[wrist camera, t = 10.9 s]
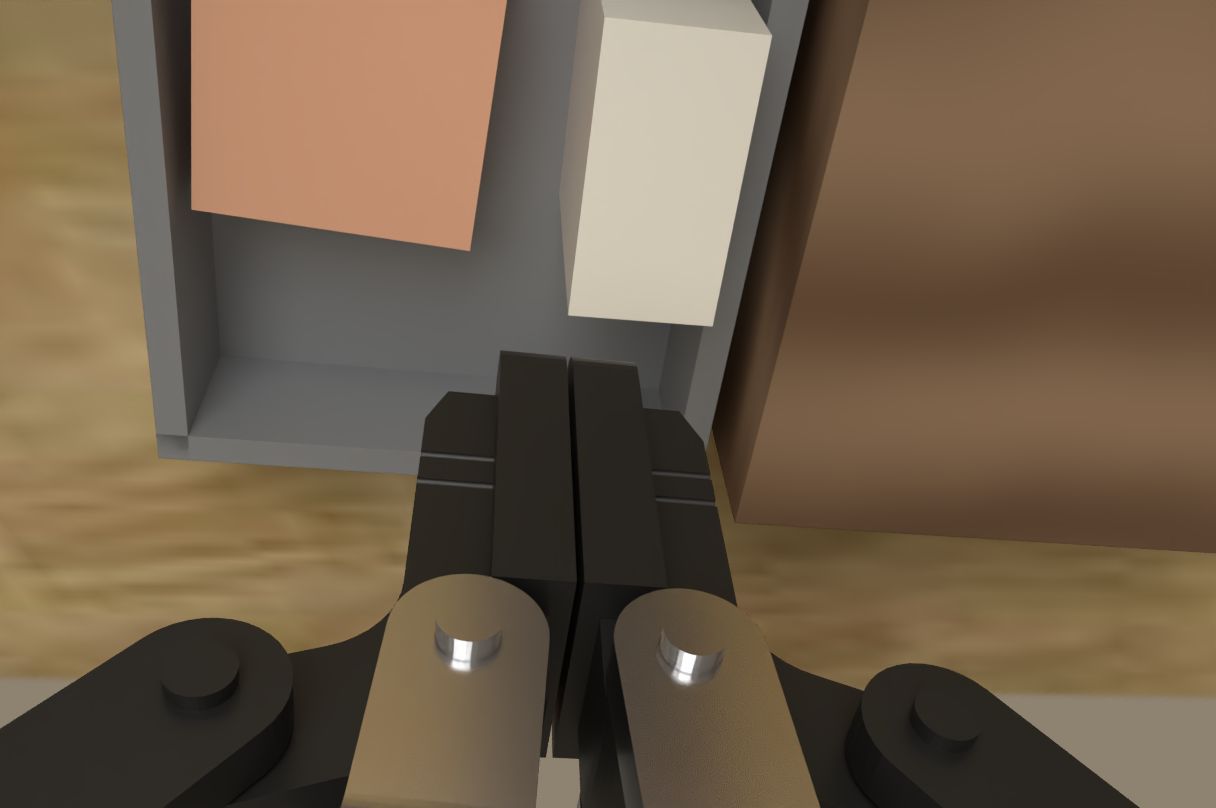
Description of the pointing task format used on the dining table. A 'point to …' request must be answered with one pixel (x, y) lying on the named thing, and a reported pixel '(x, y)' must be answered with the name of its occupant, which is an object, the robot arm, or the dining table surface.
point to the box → (391, 272)
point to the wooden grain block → (985, 278)
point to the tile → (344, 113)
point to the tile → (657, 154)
